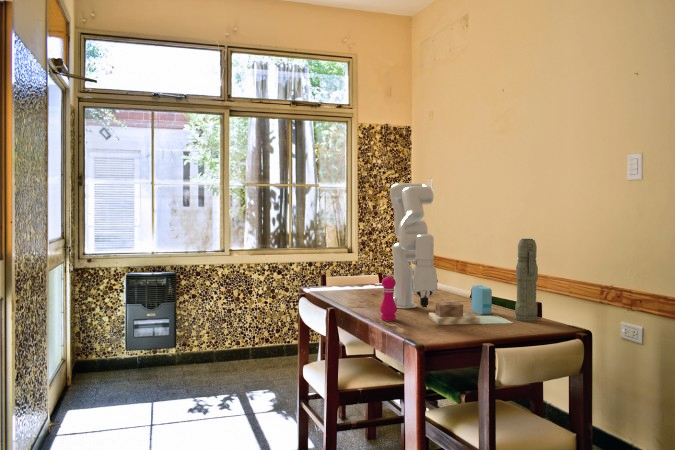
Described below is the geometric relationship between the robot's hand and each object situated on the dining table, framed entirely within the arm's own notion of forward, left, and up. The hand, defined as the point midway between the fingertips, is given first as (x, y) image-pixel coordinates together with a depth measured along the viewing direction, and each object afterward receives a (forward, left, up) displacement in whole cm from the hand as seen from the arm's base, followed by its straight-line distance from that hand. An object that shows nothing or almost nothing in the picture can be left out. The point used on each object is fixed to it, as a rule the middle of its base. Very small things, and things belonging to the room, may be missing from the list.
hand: (424, 306), depth 230 cm
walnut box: (+11, 0, -4) cm, 12 cm away
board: (+13, 0, -6) cm, 14 cm away
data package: (+32, +17, -7) cm, 37 cm away
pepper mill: (-14, +6, -7) cm, 17 cm away
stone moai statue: (+45, -1, -7) cm, 45 cm away
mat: (+29, 0, -6) cm, 30 cm away
